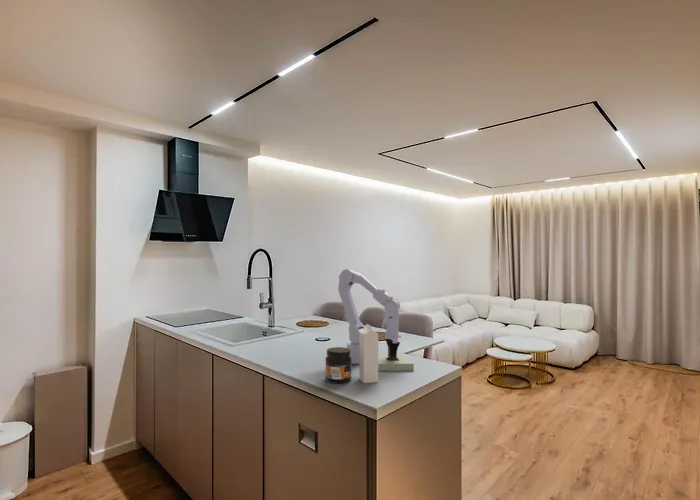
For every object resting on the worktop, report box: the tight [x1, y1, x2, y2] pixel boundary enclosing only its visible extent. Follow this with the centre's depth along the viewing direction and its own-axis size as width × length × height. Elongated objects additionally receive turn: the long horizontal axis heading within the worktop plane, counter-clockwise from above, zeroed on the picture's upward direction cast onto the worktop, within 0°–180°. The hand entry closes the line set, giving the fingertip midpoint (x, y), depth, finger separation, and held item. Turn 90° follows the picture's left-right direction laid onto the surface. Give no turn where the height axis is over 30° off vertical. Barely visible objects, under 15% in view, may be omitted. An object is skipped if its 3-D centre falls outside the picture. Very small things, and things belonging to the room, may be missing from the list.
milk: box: [358, 323, 379, 384], centre depth 148 cm, size 6×6×22 cm
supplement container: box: [324, 346, 352, 384], centre depth 148 cm, size 10×10×12 cm
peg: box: [387, 345, 398, 361], centre depth 169 cm, size 4×4×10 cm
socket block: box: [378, 354, 414, 372], centre depth 169 cm, size 16×16×3 cm
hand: (392, 355), depth 169 cm, fingers closed on peg, 4 cm apart
